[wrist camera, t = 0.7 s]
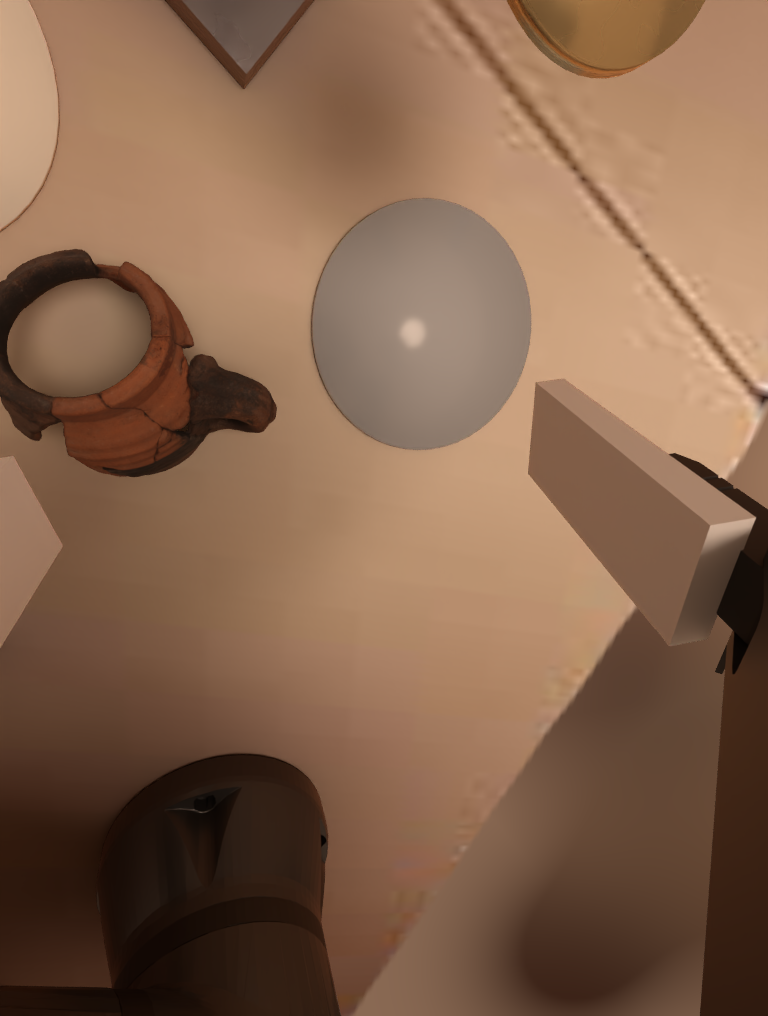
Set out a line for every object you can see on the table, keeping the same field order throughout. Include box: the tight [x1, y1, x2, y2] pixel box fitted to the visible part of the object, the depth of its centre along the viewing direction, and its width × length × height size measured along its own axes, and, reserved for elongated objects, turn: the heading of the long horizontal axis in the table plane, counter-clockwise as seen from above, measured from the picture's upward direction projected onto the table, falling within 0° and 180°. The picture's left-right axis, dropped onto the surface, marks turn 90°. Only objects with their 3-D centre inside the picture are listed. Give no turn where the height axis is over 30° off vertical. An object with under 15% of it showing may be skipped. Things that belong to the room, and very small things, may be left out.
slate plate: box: [312, 198, 531, 450], centre depth 30 cm, size 14×14×1 cm
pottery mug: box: [0, 249, 277, 477], centre depth 24 cm, size 12×9×8 cm
